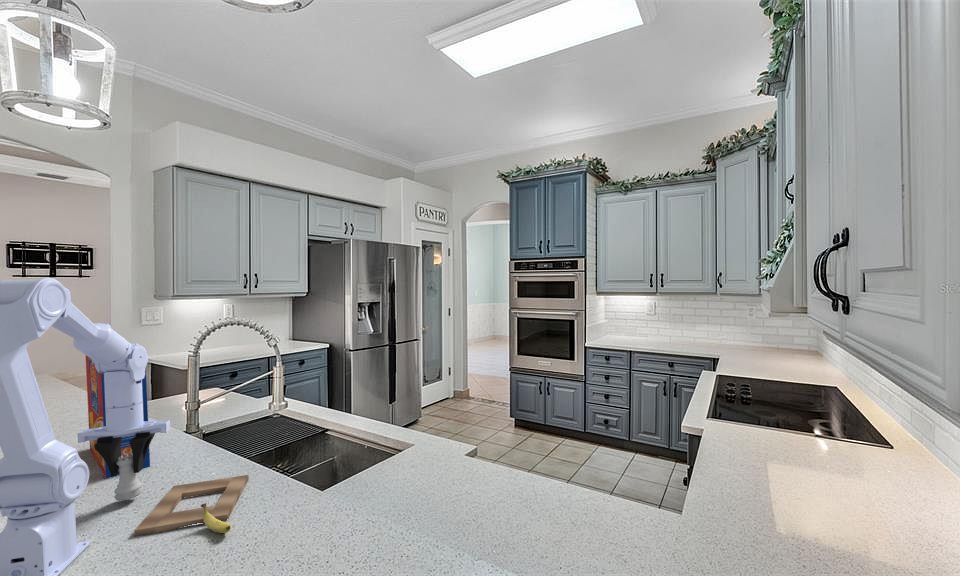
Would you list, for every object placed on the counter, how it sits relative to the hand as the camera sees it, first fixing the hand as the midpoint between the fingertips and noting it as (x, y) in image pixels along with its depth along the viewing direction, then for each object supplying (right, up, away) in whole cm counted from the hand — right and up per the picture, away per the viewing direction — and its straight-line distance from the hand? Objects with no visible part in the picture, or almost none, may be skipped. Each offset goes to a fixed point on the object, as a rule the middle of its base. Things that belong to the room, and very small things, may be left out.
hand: (127, 472), depth 85 cm
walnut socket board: (+15, -5, -2) cm, 16 cm away
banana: (+25, -5, -11) cm, 28 cm away
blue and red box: (-22, -7, +23) cm, 33 cm away
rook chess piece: (0, -5, 0) cm, 5 cm away
